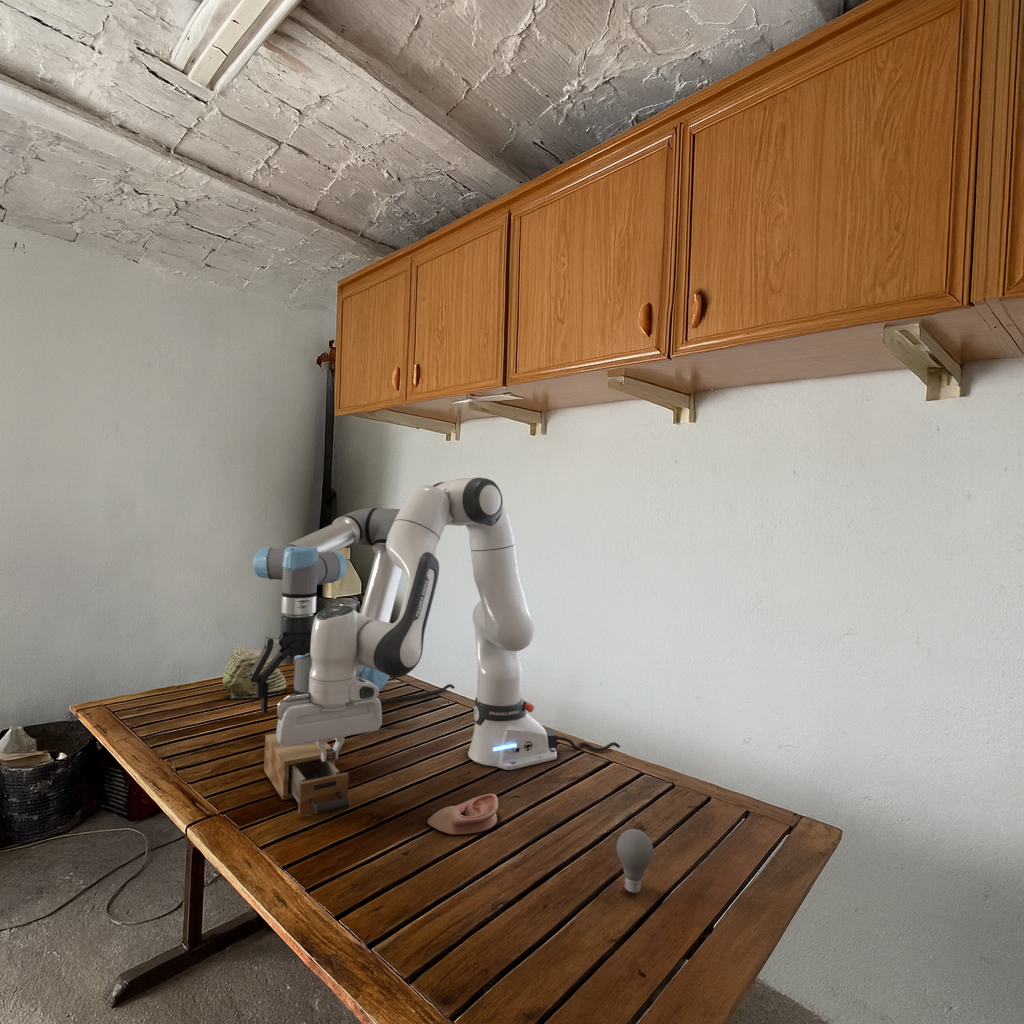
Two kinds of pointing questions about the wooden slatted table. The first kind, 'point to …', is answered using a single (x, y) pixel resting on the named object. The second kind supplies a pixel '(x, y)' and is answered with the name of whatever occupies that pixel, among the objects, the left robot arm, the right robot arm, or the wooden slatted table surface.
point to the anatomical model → (467, 816)
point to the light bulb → (634, 857)
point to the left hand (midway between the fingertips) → (295, 707)
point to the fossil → (239, 673)
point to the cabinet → (287, 761)
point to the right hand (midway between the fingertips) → (329, 759)
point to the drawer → (318, 786)
